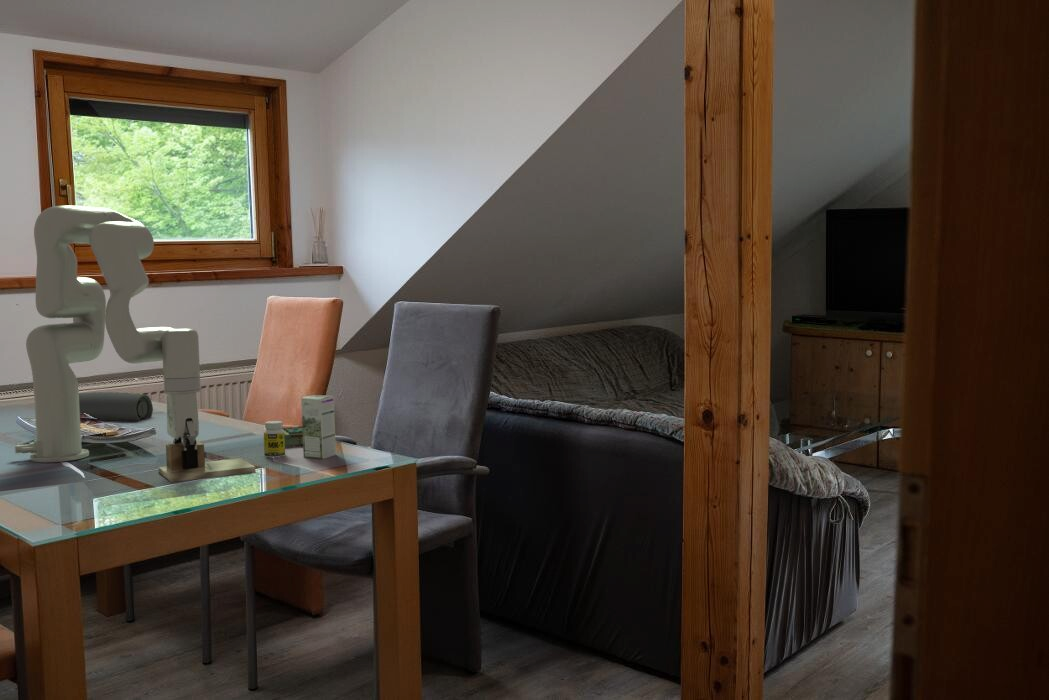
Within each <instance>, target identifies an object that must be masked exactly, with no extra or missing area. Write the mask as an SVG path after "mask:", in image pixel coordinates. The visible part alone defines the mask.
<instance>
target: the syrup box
mask: <svg viewBox="0 0 1049 700" xmlns="http://www.w3.org/2000/svg"><path fill="white" fill-rule="evenodd" d="M300 403H301V422H302V423H301V424H302V425H301V426H302V429H303V446H302V449H303V451H302V452H303V458H306V457H309V458H308V459H316V458H317V459H319V460H320V459H321V460H324V459H327V458H331V457H333V456H336V455H337V445H336V444H337V443H336V422H335V419H336V418H335V417H336V416H335V415H336V414H335V396H334V395H323V394H322V395H321V394H320V395H319V394H311V395H306V396H304V397H301V399H300Z"/></svg>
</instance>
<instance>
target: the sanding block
mask: <svg viewBox="0 0 1049 700" xmlns="http://www.w3.org/2000/svg"><path fill="white" fill-rule="evenodd" d="M196 442H197V452H198V468H194V469H185V470H184V469H183V468H182V451H183V446H182V443H175V444H173V443H168V444H165V455H166V458H165V459H166V466H167V470H168V471H170V472H171V473H177V472H186V471H195V470H203V469H205V462H206V460H205V457H206V456H205V444H204V443H203V442H201V441H197V440H196Z"/></svg>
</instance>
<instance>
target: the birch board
mask: <svg viewBox="0 0 1049 700" xmlns="http://www.w3.org/2000/svg"><path fill="white" fill-rule="evenodd" d="M158 472H159V474H160V475H161V476H162V477H164V478H165V479H166V480H168V481H169V482H170V483H175V482H184V481H190V480H198V479H208V478H217V477H225V476H234V475H242V474H249V473H256V466H255V465H253V464H251V463H250V462H248V461H246V460H244V459H243V458H241V457H237V458H229V459H227V458H226V459H220V460H213V461H205V469H203V470H195V471H186V472H177V473H171V472H170V471H168V470H167V465H165V466H159V467H158Z"/></svg>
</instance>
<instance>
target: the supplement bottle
mask: <svg viewBox="0 0 1049 700" xmlns="http://www.w3.org/2000/svg"><path fill="white" fill-rule="evenodd" d="M264 425H265V426H264V428H265V430H264V431H263V447H264V448H263V450H264V452H263V453H264V457H265V456H266V457H265V458H268V457H277V458H281V457H280V456H283V457H285V456H284V455H286V449H285V448H286V447H285V438H284V430H283V429H282V428H284V425H283V421H281V420H270V421H266V422H264Z"/></svg>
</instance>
